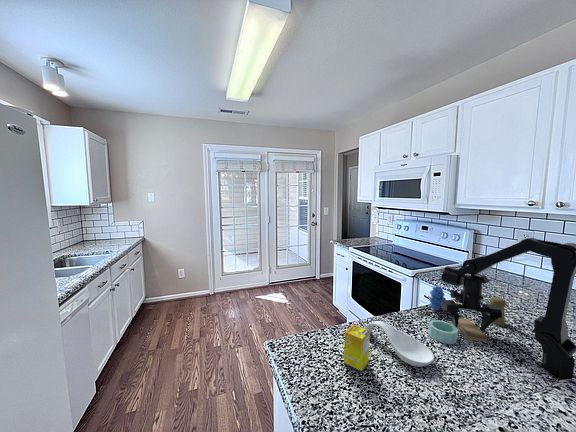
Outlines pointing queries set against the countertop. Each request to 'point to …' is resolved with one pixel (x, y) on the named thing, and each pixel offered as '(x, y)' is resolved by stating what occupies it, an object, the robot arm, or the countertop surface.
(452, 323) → the mat
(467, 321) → the tan wooden plank
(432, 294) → the grapes
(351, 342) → the supplement box
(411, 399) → the countertop surface
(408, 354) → the spoon rest
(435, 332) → the bowl
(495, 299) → the olive brown pear
